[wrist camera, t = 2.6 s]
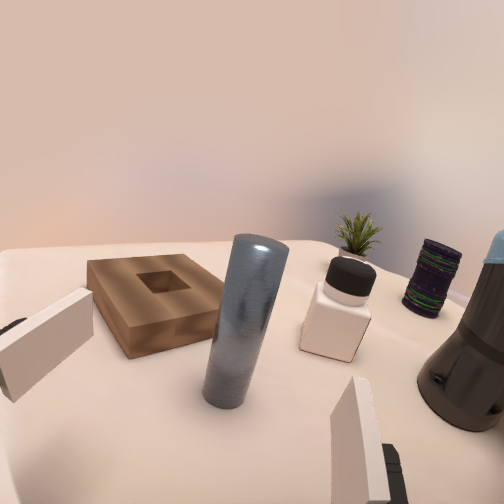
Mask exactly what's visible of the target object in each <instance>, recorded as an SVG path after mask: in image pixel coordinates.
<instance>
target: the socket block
mask: <svg viewBox="0 0 504 504" xmlns="http://www.w3.org/2000/svg"><path fill="white" fill-rule="evenodd" d="M223 287H224V282H222V281H221V280H219V279H218V278H216V277H215V276H214V275H212V274H211V273H209V272H208V271H207V270H205V269H204V268H202V267H201V266H200V265H198V264H197V263H195V262H194V261H193V260H191V259H190V258H189V257H187V256H186V255H184V254H174V255H159V256H145V257H131V258H116V259H102V260H88V261H87V288H88V290H90V291H92V292H93V300H94V301H95V303H96V305H97V307H98V309H99V311H100V312H101V314H102V316H103V318H104V319H105V321H106V323H107V325H108V326H109V328H110V330H111V331H112V333H113V335H114V336H115V338H116V340H117V341H118V343H119V344H120V346H121V348H122V349H123V351H124V352H125V354H126V355H127V357H128V358H129V359H132V358H136V357H141V356H145V355H149V354H153V353H157V352H161V351H165V350H169V349H173V348H176V347H180V346H184V345H188V344H191V343H195V342H199V341H202V340H206V339H209V338H213V336H214V331H215V326H216V321H217V316H218V311H219V307H220V302H221V297H222V292H223Z"/></svg>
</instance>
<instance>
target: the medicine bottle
mask: <svg viewBox="0 0 504 504" xmlns="http://www.w3.org/2000/svg"><path fill="white" fill-rule="evenodd" d="M376 276H377V275H376V272H375V270H374V269H373V268H372V267H371V266H370V265H368V264H367V263H365V262H363V261H361V260H358V259H355V258H352V257H347V256H339V257H335V258H333V259H332V260H331V263H330V266H329V269H328V272H327V275H326V278H325V281H324V283H323V282H318V283H317V285H316V288H315V291H314V294H313V297H312V300H311V303H310V306H309V309H308V312H307V315H306V317H305V320H304V323H303V329H302V336H301V342H300V349H301V350H304V351H308V352H311V353H315V354H319V355H323V356H326V357H330V358H334V359H338V360H342V361H346V362H351V361H352V359H353V357H354V355H355V353H356V351H357V349H358V347H359V345H360V342H361V340H362V338H363V336H364V334H365V331H366V329H367V327H368V325H369V322H370V320H371V317H372V316H371V313H370V310H369V307H368V304H367V300H368V297H369V294H370V292H371V289H372V287H373V284H374V281H375V279H376Z"/></svg>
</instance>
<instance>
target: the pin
mask: <svg viewBox="0 0 504 504" xmlns="http://www.w3.org/2000/svg"><path fill="white" fill-rule="evenodd" d="M288 253H289V248H288V247H287V246H286V245H284V244H283V243H281V242H279V241H276V240H274V239H270V238H267V237H264V236H259V235H254V234H238V235H235V237H234V241H233V246H232V250H231V255H230V260H229V264H228V269H227V273H226V278H225V283H224V287H223V292H222V297H221V302H220V307H219V311H218V316H217V321H216V326H215V331H214V336H213V341H212V346H211V351H210V356H209V361H208V366H207V371H206V376H205V381H204V386H203V396H204V398H205V399H206V400H207V401H208V402H209V403H210V404H211V405H213V406H215V407H218V408H221V409H233V408H236V407H238V406H240V405H241V404H242V403H243V402H244V399H245V396H246V393H247V390H248V387H249V383H250V380H251V377H252V374H253V371H254V368H255V365H256V361H257V358H258V355H259V352H260V349H261V345H262V342H263V339H264V336H265V332H266V329H267V326H268V322H269V319H270V316H271V312H272V309H273V306H274V302H275V299H276V295H277V292H278V288H279V285H280V282H281V278H282V274H283V271H284V267H285V264H286V260H287V257H288Z"/></svg>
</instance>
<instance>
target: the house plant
mask: <svg viewBox="0 0 504 504" xmlns="http://www.w3.org/2000/svg"><path fill="white" fill-rule="evenodd" d="M346 214H347V213H346ZM347 215H348V214H347ZM369 215H370V214H368V215H367V217H365V215H363V216H362V219H361V221H360V217H359V212H358V213H357V217H356V219H355V218H354V223H353V225H354V232H353V228H352V223H351V220H350V218H349V216H348V218H349V221H350V223H349V221H348V220H347V219H346V218H345V217H344V218H345V219H346V220H347V222H348V224H349V226H350V229H351V230H350V229H349V226H348V224H347V222H346V220H345V219H344V218H343V219H344V221H345V223H346V225H347V228H346V227H344V226H341V225H338V226H339V228H340V227H341V228H343V229H345V230H346V231H348V232H349V236H350V240H349V237H348V236H347V234H346V233H344V232H343V230H342V229H341V228H340V229H341V231H338V230H337V231H338V232H341V233H342V234H343V236H341V235H338V236H337V237H342V238H341V240H343V239H345V240H346V242H347V245H348V247H347V246H340V249H339V255H338V257H339V256H347V257H352V258H355V259H358V260H361V261H363V262H365V260H366V258H367V255H366V254H365V253H364V251H365V250H366V249H369V248H372V247H366V246H367V245H368V244H369V243H370V242H369V241H368V242H366V240H368V239H369V238H370V237H371V236H372V235H373V234H375V233H374V232H376V231H377V230H378V229H380V228H376V229H374V230H372V231H371V229H372V227H373V224H374V223H373V224H372V225H371V226H370V224H371V220H370V222H369V223H368V226H367V227H366V229H365V230H364V232H363V234H362V235H361V232H362V230H363V227H364V225H365V223H366V221H367V219H368V217H369ZM368 228H369V229H368ZM367 230H368V231H367ZM380 230H381V229H380ZM377 232H378V231H377ZM344 234H345V235H346V236H345V235H344ZM350 234H351V235H352V236H353V239H351V235H350ZM361 239H362V240H361ZM350 241H351V243H350ZM365 242H366V243H365ZM371 242H375V241H371ZM376 242H378V241H376ZM364 243H365V244H364ZM379 243H380V242H379ZM363 244H364V245H363ZM362 245H363V246H362ZM361 246H362V247H361ZM360 247H361V248H360ZM373 249H374V248H373Z"/></svg>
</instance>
